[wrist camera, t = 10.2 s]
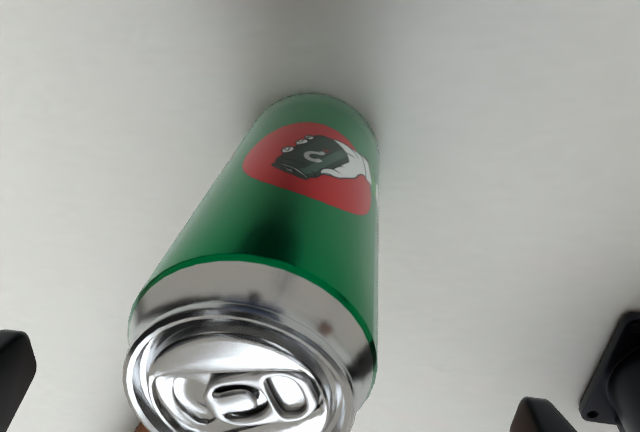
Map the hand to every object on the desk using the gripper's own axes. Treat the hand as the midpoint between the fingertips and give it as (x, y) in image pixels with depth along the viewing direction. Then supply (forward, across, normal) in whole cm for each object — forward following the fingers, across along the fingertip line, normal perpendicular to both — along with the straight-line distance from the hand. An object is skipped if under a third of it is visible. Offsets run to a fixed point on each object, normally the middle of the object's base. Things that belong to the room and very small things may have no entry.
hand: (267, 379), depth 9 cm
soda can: (+12, 0, 0) cm, 12 cm away
